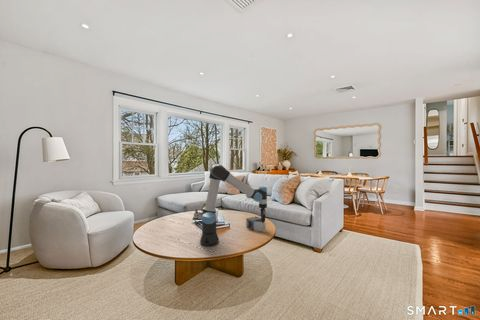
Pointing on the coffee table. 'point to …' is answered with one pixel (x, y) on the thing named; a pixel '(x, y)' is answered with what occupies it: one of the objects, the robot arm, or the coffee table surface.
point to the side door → (259, 226)
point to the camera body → (250, 222)
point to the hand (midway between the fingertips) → (263, 228)
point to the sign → (198, 216)
